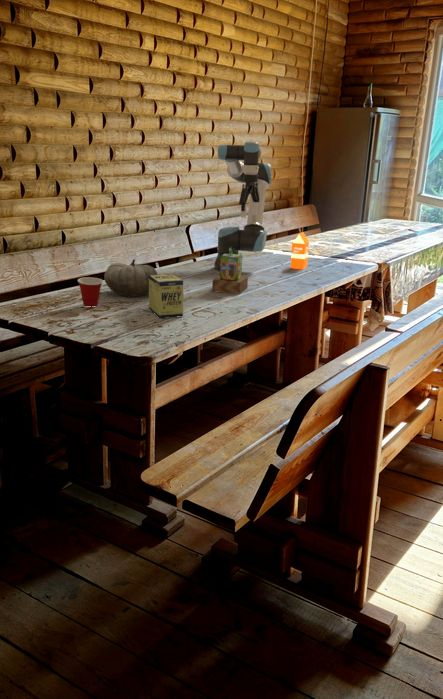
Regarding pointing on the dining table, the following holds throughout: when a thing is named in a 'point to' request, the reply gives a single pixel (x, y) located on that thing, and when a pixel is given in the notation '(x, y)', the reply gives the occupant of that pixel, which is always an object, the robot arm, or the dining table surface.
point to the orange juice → (299, 252)
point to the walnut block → (230, 285)
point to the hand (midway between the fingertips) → (248, 216)
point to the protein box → (166, 295)
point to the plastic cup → (90, 290)
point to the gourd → (129, 278)
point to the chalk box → (230, 266)
